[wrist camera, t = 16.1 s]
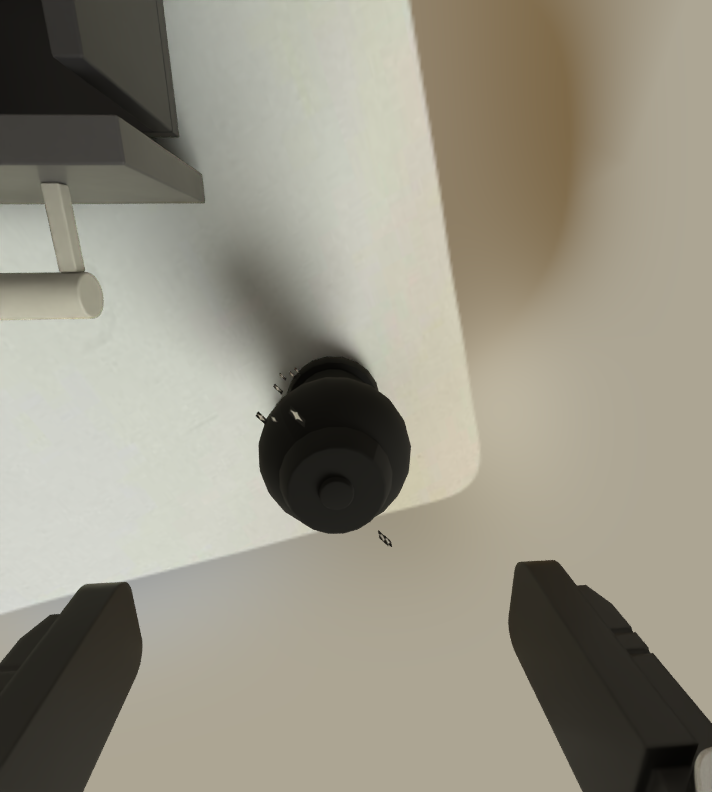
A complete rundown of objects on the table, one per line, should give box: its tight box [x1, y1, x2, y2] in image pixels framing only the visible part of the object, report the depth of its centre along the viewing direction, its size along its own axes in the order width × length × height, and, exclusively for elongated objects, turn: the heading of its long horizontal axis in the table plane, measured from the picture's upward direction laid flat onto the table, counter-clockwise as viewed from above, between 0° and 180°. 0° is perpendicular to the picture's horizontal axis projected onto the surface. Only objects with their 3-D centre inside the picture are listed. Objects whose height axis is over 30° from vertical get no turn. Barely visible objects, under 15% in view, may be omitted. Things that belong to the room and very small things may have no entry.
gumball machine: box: [256, 357, 411, 547], centre depth 18 cm, size 7×6×10 cm
